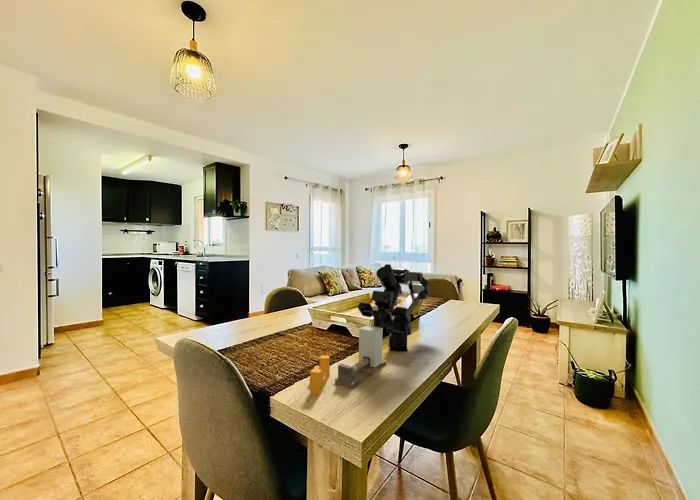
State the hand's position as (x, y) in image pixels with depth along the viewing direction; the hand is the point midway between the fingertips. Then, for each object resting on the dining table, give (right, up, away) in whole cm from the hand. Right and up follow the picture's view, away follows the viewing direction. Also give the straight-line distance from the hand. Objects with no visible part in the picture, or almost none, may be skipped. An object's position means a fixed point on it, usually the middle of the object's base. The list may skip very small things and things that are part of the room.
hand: (375, 333), depth 101 cm
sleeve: (-2, -9, -2) cm, 10 cm away
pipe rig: (-5, -11, -6) cm, 13 cm away
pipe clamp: (-18, -11, -14) cm, 26 cm away
